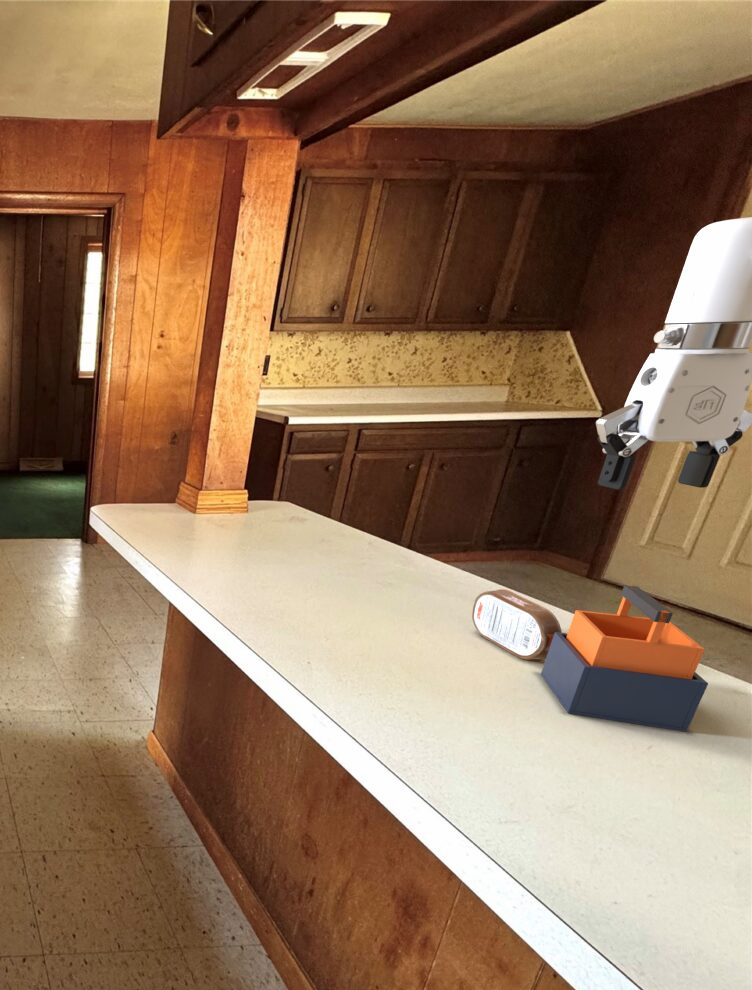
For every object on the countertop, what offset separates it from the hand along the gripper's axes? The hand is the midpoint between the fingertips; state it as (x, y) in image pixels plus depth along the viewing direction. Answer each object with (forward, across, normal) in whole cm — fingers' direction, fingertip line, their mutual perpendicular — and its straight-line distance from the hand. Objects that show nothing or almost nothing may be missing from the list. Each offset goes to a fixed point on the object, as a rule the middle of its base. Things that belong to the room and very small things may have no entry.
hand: (651, 486), depth 83 cm
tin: (+29, 0, +14) cm, 32 cm away
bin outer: (+29, +2, -3) cm, 29 cm away
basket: (+29, +2, -3) cm, 29 cm away
